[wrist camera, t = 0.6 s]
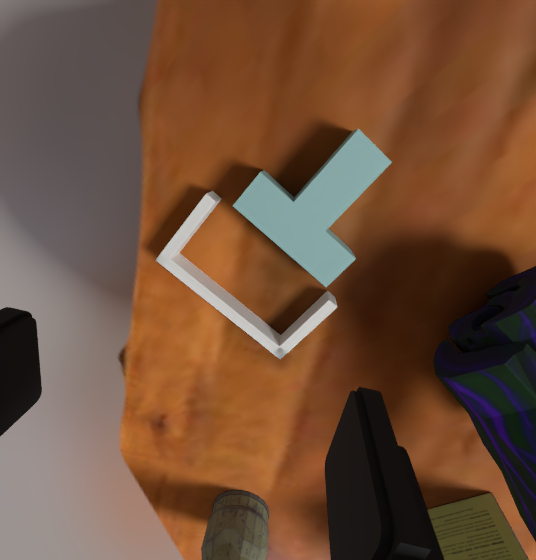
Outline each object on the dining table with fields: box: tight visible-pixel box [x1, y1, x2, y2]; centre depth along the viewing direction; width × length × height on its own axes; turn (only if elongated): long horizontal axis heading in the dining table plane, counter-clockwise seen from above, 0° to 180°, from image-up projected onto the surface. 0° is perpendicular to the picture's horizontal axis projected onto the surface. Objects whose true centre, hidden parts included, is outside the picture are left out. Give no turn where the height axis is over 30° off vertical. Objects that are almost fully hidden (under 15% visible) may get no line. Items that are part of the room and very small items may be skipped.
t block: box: [233, 129, 392, 287], centre depth 31 cm, size 12×12×4 cm
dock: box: [156, 191, 337, 359], centre depth 36 cm, size 9×17×2 cm, turn 49°
